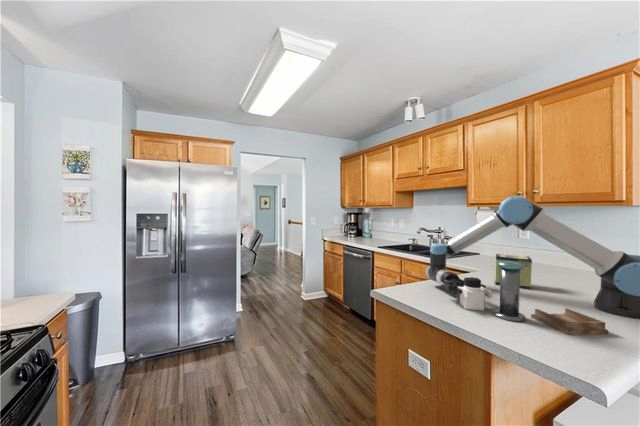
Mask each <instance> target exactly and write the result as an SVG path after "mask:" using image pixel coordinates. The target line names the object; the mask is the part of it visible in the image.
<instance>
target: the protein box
mask: <svg viewBox="0 0 640 426" xmlns="http://www.w3.org/2000/svg"><path fill="white" fill-rule="evenodd" d="M499 261H508V262H516V263H521V264H524V269H522V270H520V289H523V290H531V289H532V288H531V287H532V264H533V259H532V258H531V257H530V256H525V255H513V254H501V253H496V254H495V265H494V284H495V285H496V286H500V274H501V267H498V262H499Z"/></svg>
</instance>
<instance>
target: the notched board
mask: <svg viewBox="0 0 640 426" xmlns="http://www.w3.org/2000/svg"><path fill="white" fill-rule="evenodd" d="M530 317H531V318H532V319H534V320H536V321H538V322H541V323H542V324H545V325H547V326H549V327H552V328H554V329H555V330H557V331H559V332H561V333H564V334H566V335H569V336H570V335H571V336H572V335H576V336H578V335H608V334H609V330H608V329H606V322H605V321H602V320H599V319H597V318H594V317H591V316H588V315H585V314H583V313H580V312H579V311H575V310H572V309H570V308H565V309H564V313H548V312H546V311H543V310H541V309H539V308H535V309H534V314H533V313H531V314H530Z"/></svg>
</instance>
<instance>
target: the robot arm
mask: <svg viewBox="0 0 640 426" xmlns="http://www.w3.org/2000/svg"><path fill="white" fill-rule="evenodd" d="M544 209H545V208H542V207H541V206H539V205H537V204H535V203H534V202H532V201H530V200H529V199H527V198H526V197H523V196H521V195H513V196H509V197H506V198H505V199H504V200H502V201H501V203H500V204H499V206H498V208H497V209H495V210H493V211H492V214H491V215H489V216H487V217H486V218H484V219H483V220H481V221H479V222H477V223H476V224H475V225H473V226H471V227H469V228H467V229H466V230H464V231H463V232H461V233H459V234H458V235H456V236H455V237H453V238H451V239H450V240H448V241H446V242H444V243H436V242H435V243H431V244H430V249H429V252H430V253H429V255H430V256H429V266H428V267H427V269H426V276H427V277H428V278H429V279H430V280H432V281H433V282H436V284H437V283H438V284H439V285H440V286H441V287H443V288H444V289H445V290H447V291H448V292H449V293H452V292H453V294H454V295H458V294H459V295H460V294H461V295H463V296H464V297H466V298H469V291H468V290H466V289H464V288H462V287H464V279H461V278H460V277H459V276H458V274H457V273H454V272H452V271H450V270H447V260H448V259H450V258H451V257H452V256H454V255H457V254H458V253H460V252H461V251H463V250H465V249H467V248H469V247H470V246H473V245H475V244H476V243H477V242H479V241H482V240H483V239H484V238H486V237H488V236H490V235H492V234H493V233H495V232H497V231H498V230H500V229H502V228H508V227H510V226H514V227H516V228H518V229H519V230H521V231H523V232H527V231H528V232H532V233H533V234H535V235H536V236H538V237H540V238H542V239H543V240H546V241H547V242H548V243H550V244H552V245H554V246H555V247H557V248H559V249H561V251H563V252H566V253H567V254H568V255H571V256H572V257H574V258H576V259H578V260H580V261H581V262H582V263H584V264H586V265H587V266H590V267H591V268H592V269H594V272H595V275H597V276H598V277H600V289H599V291H598V292H597V295H596V297H595V299H594V301H593V307H594V308H596V309H597V310H600V311H603V312H605V313H608V314H609V313H610V314H613V315H616V316H623V317H627V318H633V319H635V318H636V319H640V255H637V254H627V253H626V252H623V251H622V250H618V251H617V250H616V251H615V250H611V249H609V248H608V247H605V245H602V244H600V243H598V242H596V241H595V240H593V239H591V238H590V237H587V236H586V235H584V234H582V233H580V232H578V231H577V230H574V229H573V228H571V227H569V226H568V225H565V224H563V222H560V221H558V220H556V219H554V218H553V217H551V216H549V215H547V214H546V213H545V210H544ZM480 290H481V291H483V292H484V293H485V297H487V298H489V299H492V297H493V291H492V290H490V289H488V288H487V286H486V285H484V284H482V283H481V289H480Z"/></svg>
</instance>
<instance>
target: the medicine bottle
mask: <svg viewBox="0 0 640 426" xmlns="http://www.w3.org/2000/svg"><path fill="white" fill-rule="evenodd" d="M463 280H464V287H462V288H464V289H466V290H468V291H469V298H466V297H464V296H463V295H461V294H459V304H460V305H461V306H462V307H463V308H464V309H465V310H472V311H482V312H484V311H485V306H486V305H485V303H486V302H485V301H486V299H485V298H486V296H485V293H484V292H483V291H481V290H480V289H481V284H482V280H481V279H480V278H478V277H476V276H475V277H474V276H465V277H464V278H463Z"/></svg>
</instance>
